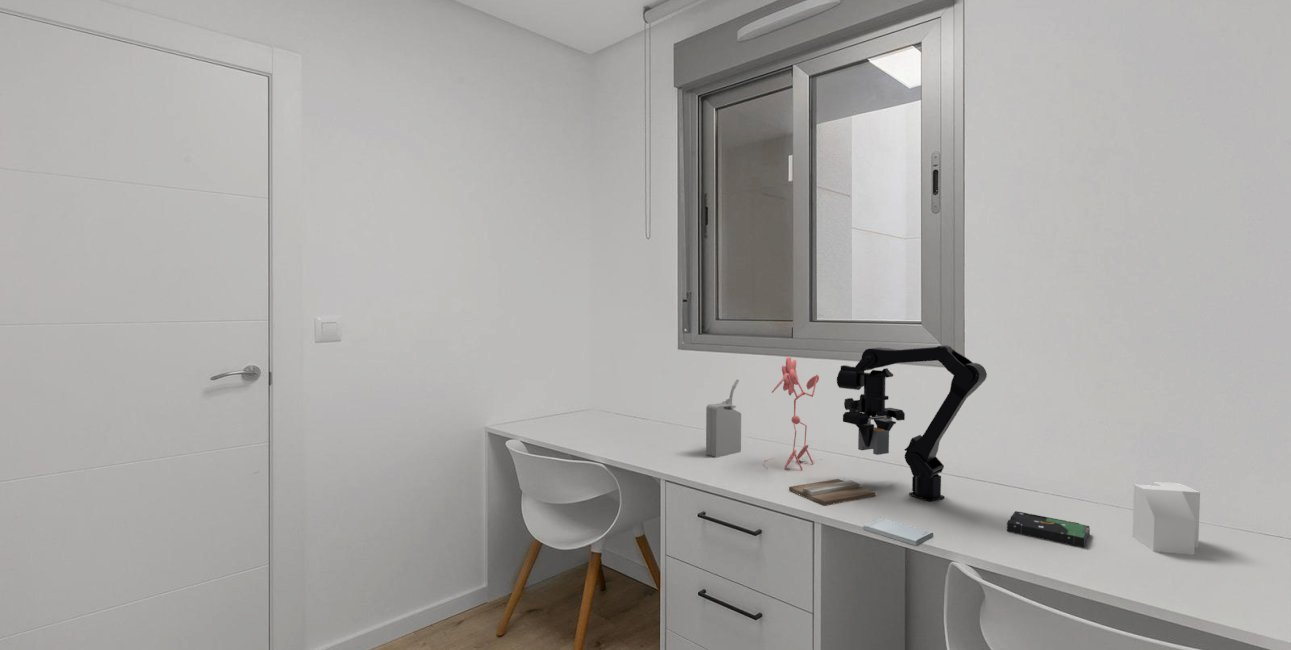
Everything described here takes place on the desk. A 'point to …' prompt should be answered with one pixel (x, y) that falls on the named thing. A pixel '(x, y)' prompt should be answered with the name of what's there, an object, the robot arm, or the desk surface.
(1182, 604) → the desk surface
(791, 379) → the pink flower figurine
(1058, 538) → the disk drive
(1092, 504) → the desk surface
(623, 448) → the desk surface
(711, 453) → the fuel canister
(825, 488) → the mounting board
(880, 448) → the block
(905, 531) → the hard drive
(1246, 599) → the desk surface
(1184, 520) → the corner bracket
